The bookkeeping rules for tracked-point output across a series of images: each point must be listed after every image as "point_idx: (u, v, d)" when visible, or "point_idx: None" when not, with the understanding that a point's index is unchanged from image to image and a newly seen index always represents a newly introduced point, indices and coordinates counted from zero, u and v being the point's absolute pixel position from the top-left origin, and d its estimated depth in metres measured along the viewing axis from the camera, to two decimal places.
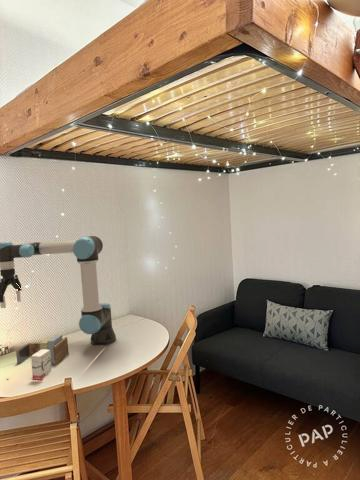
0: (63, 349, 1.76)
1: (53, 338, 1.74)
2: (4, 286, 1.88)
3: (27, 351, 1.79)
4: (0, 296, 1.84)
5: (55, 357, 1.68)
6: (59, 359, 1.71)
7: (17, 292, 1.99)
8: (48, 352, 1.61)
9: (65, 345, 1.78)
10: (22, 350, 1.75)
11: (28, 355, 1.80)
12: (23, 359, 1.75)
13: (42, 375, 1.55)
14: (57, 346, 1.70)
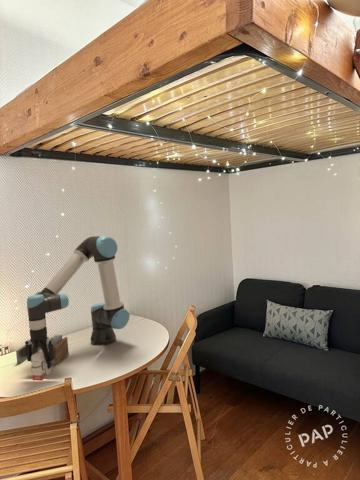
0: (63, 349, 1.76)
1: (53, 338, 1.74)
2: None
3: None
4: (30, 361, 1.59)
5: (55, 357, 1.68)
6: (59, 359, 1.71)
7: None
8: None
9: (65, 345, 1.78)
10: (22, 350, 1.75)
11: None
12: (23, 359, 1.75)
13: (42, 375, 1.56)
14: (57, 346, 1.70)
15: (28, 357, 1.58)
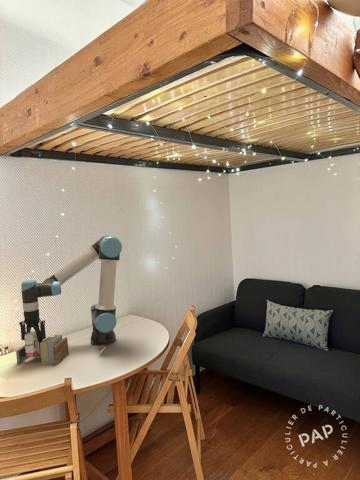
0: (63, 349, 1.76)
1: (53, 338, 1.74)
2: None
3: None
4: (24, 340, 1.75)
5: (55, 357, 1.68)
6: (59, 359, 1.71)
7: None
8: None
9: (65, 345, 1.78)
10: (22, 350, 1.75)
11: None
12: (23, 359, 1.75)
13: (34, 352, 1.72)
14: (57, 346, 1.70)
15: (22, 336, 1.75)
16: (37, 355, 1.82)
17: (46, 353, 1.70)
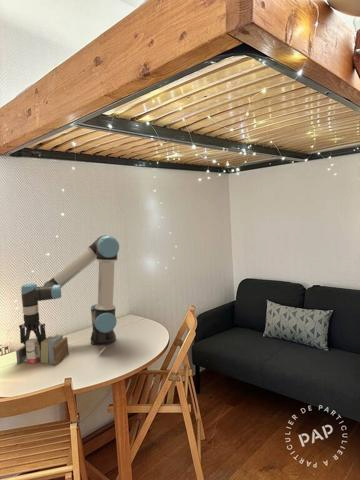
0: (63, 349, 1.76)
1: (54, 337, 1.74)
2: None
3: None
4: (23, 343, 1.76)
5: (55, 357, 1.68)
6: (59, 359, 1.71)
7: None
8: None
9: (65, 345, 1.78)
10: (22, 350, 1.75)
11: None
12: (23, 359, 1.75)
13: (36, 359, 1.72)
14: (57, 346, 1.70)
15: (21, 339, 1.75)
16: None
17: (46, 352, 1.70)
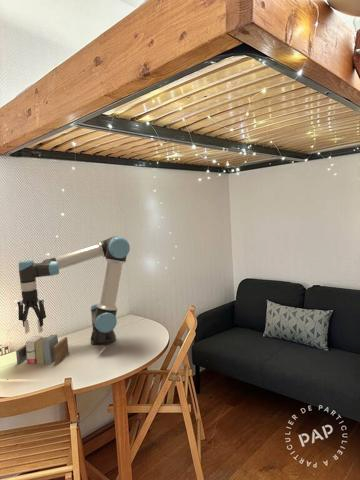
0: (63, 349, 1.76)
1: (48, 338, 1.74)
2: None
3: None
4: None
5: (55, 357, 1.68)
6: (59, 359, 1.71)
7: None
8: (41, 338, 1.77)
9: (65, 345, 1.78)
10: (22, 350, 1.75)
11: None
12: (23, 359, 1.75)
13: (36, 359, 1.72)
14: (57, 346, 1.70)
15: (19, 316, 1.74)
16: None
17: (42, 353, 1.70)
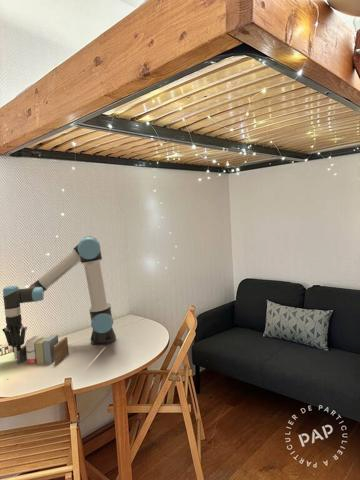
0: (63, 349, 1.76)
1: (49, 338, 1.74)
2: None
3: None
4: None
5: (55, 357, 1.68)
6: (59, 359, 1.71)
7: None
8: (41, 338, 1.77)
9: (65, 345, 1.78)
10: (22, 350, 1.75)
11: None
12: (23, 359, 1.75)
13: (36, 359, 1.72)
14: (57, 346, 1.70)
15: (8, 342, 1.76)
16: None
17: (41, 353, 1.70)
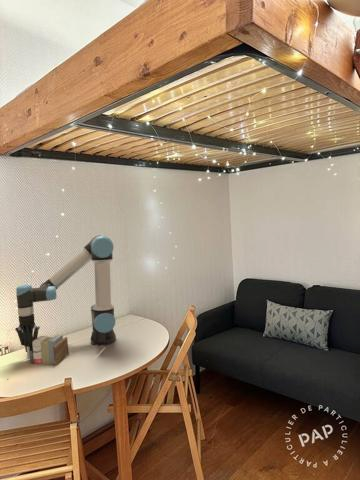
0: (63, 349, 1.76)
1: (54, 337, 1.74)
2: None
3: None
4: (24, 345, 1.76)
5: (55, 357, 1.68)
6: (59, 359, 1.71)
7: None
8: None
9: (65, 345, 1.78)
10: None
11: None
12: None
13: None
14: (57, 346, 1.70)
15: (21, 341, 1.75)
16: None
17: (47, 353, 1.70)
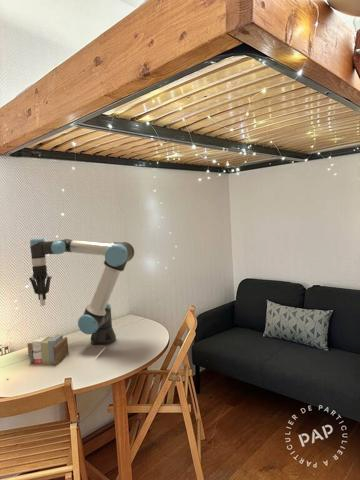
0: (63, 349, 1.76)
1: (54, 337, 1.74)
2: None
3: None
4: (37, 293, 1.92)
5: (55, 357, 1.68)
6: (59, 359, 1.71)
7: None
8: None
9: (65, 345, 1.78)
10: None
11: None
12: None
13: None
14: (57, 346, 1.70)
15: (35, 290, 1.91)
16: None
17: (47, 353, 1.70)
